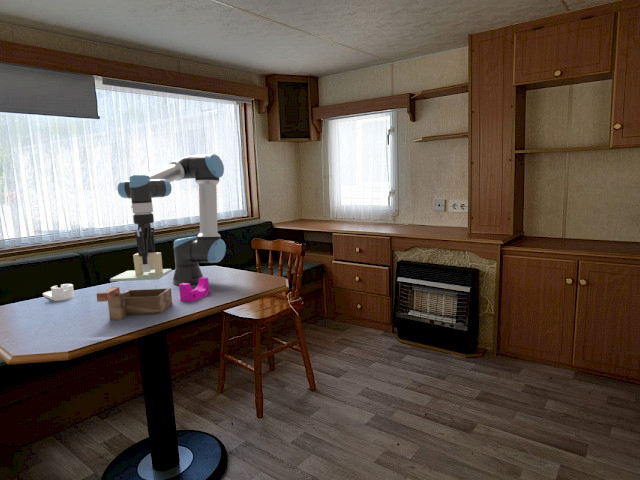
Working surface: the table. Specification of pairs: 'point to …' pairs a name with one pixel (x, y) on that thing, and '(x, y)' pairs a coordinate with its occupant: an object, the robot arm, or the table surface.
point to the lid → (138, 271)
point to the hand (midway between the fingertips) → (149, 270)
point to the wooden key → (108, 294)
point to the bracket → (60, 292)
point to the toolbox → (139, 302)
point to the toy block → (194, 290)
